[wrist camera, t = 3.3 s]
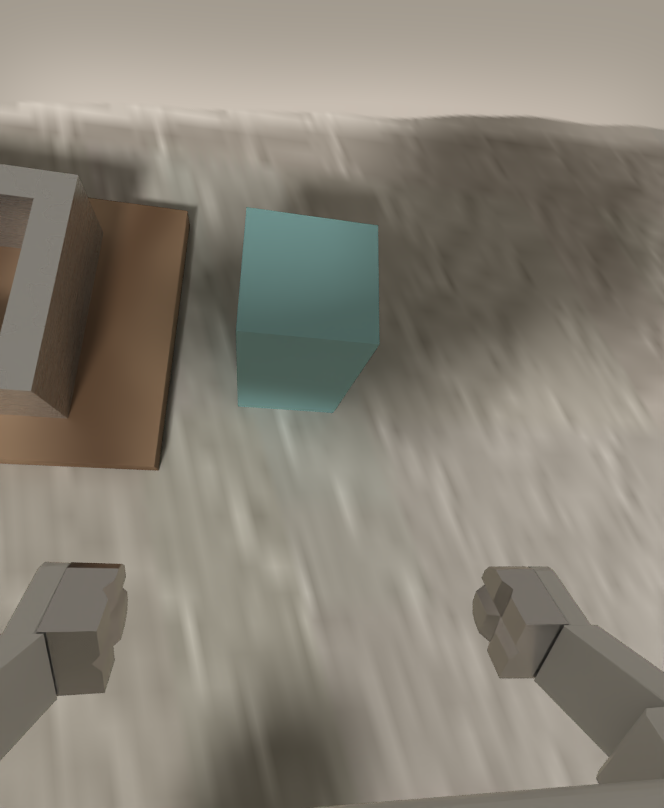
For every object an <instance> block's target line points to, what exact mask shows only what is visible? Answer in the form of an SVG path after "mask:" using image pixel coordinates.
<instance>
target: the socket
mask: <svg viewBox="0 0 664 808" xmlns="http://www.w3.org/2000/svg"><path fill="white" fill-rule="evenodd" d="M102 237H103V230H102V228H101V226H100V224H99V221H98V219H97V217H96V215H95V212H94V210H93V208H92V205H91V203H90V201H89V199H88V196H87V194H86V192H85V190H84V187H83V185H82V183H81V180H80V178H79V176H78V175H75V174H68V173H61V172H54V171H47V170H40V169H33V168H26V167H19V166H12V165H4V164H0V246H3V247H12V248H21V252H20V256H19V260H18V264H17V268H16V272H15V276H14V280H13V284H12V288H11V292H10V296H9V300H8V304H7V308H6V312H5V316H4V320H3V324H2V328H1V332H0V414H1V415H18V416H34V417H51V418H67V419H68V415H69V410H70V405H71V400H72V394H73V389H74V384H75V379H76V373H77V368H78V363H79V358H80V352H81V347H82V342H83V337H84V331H85V326H86V321H87V316H88V310H89V305H90V300H91V295H92V289H93V284H94V279H95V274H96V268H97V263H98V258H99V253H100V248H101V242H102Z"/></svg>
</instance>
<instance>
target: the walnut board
mask: <svg viewBox="0 0 664 808" xmlns="http://www.w3.org/2000/svg"><path fill="white" fill-rule="evenodd" d="M88 199H89V201H90V203H91V205H92V208H93V210H94V212H95V215H96V217H97V219H98V221H99V224H100V226H101V228H102V230H103V237H102V242H101V248H100V253H99V258H98V263H97V268H96V274H95V279H94V284H93V289H92V295H91V300H90V305H89V310H88V316H87V321H86V326H85V331H84V337H83V342H82V347H81V352H80V358H79V363H78V368H77V373H76V379H75V384H74V389H73V394H72V400H71V405H70V410H69V415H68V419H67V418H51V417H34V416H18V415H1V414H0V463H3V464H25V465H48V466H70V467H93V468H115V469H137V470H159V462H160V454H161V447H162V439H163V431H164V423H165V415H166V407H167V400H168V392H169V384H170V376H171V368H172V360H173V352H174V345H175V337H176V329H177V321H178V313H179V305H180V298H181V290H182V282H183V274H184V266H185V258H186V250H187V243H188V235H189V227H190V224H189V218H188V211H183V210H176V209H169V208H161V207H154V206H146V205H139V204H131V203H124V202H117V201H109V200H102V199H94V198H88ZM20 252H21V248H12V247H3V246H0V332H1V328H2V324H3V320H4V316H5V312H6V308H7V304H8V300H9V296H10V292H11V288H12V284H13V280H14V276H15V272H16V268H17V264H18V260H19V256H20Z"/></svg>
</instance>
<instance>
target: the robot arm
mask: <svg viewBox="0 0 664 808" xmlns="http://www.w3.org/2000/svg"><path fill="white" fill-rule="evenodd" d="M125 578H126V572H125V565H123V564H105V563H74V562H72V563H62V562H44V563H43V564H42V565H41V566H40V567H39V568H38V569H37V571H36V573H35V575H34V577H33V579H32V580H31V582H30V584H29V586H28V588H27V590H26V591H25V593H24V595H23V597H22V599H21V600H20V602H19V604H18V606H17V608H16V610H15V611H14V613H13V615H12V617H11V619H10V620H9V622H8V624H7V626H6V628H5V630H4V631H3V633H2V634H0V760H1V759H2V758H3V757H4V756H5V755H6V754H7V753H8V752H9V751H10V750H11V748H12V747H13V746H14V745H15V744H16V743H17V742H18V741H19V740H20V739H21V738H22V736H23V735H24V734H25V733H26V732H27V731H28V730H29V729H30V728H31V727H32V726H33V725H34V723H35V722H36V721H37V720H38V719H39V718H40V717H41V716H42V715H43V714H44V713H45V711H46V710H47V709H48V708H49V707H50V706H51V705H52V704H53V703H54V702H55V701H56V700H57V696H65V695H80V694H96V693H105V690H106V687H107V684H108V681H109V677H110V674H111V671H112V667H113V664H114V661H115V658H114V647H113V646H114V645H115V644H116V643H117V642H118V641H120V640H121V637H122V634H123V630H124V626H125V621H126V615H127V606H128V596H127V591H126V590H125V589H124V588H123V584H124V581H125ZM482 580H483V582H484V584H485V585H484V586H482V587H481V588H480V589H478V590H477V591H476V593H475V596H474V599H473V617H474V621H475V624H476V626H477V629H478V631H479V633H480V634H481V635H482V636H483V637H485V638H486V639H487V640H488V641H489V645H488V649H487V652H488V654H489V656H490V658H491V661H492V663H493V665H494V667H495V670H496V672H497V674H498V676H499V678H535V679H534V681H535V682H536V683H537V684H538V685H539V686H540V687H541V688H542V689H543V690H544V691H545V692H546V693H547V694H548V695H549V696H550V697H551V698H552V699H553V700H554V701H555V702H556V703H557V704H558V705H559V706H560V707H561V708H562V709H563V711H564V712H565V713H566V714H567V715H568V716H569V717H570V718H571V719H572V720H573V721H574V722H575V723H576V724H577V725H578V726H579V727H580V728H581V729H582V730H583V731H584V732H585V733H586V734H587V735H588V736H589V737H590V738H591V739H592V740H593V741H594V742H595V743H596V744H597V745H598V746H599V747H600V748H601V749H602V750H603V751H604V752H605V753H606V754H607V756H608V757H609V758H608V759H607V761H606V762H605V763H604V765H603V766H602V767H601V768H600V770H599V771H598V774H597V777H596V779H597V781H598V783H599V784H594V785H581V786H569V787H557V788H545V789H532V790H520V791H508V792H496V793H483V794H471V795H459V796H447V797H434V798H422V799H410V800H398V801H385V802H373V803H361V804H349V805H337V806H325V807H312V808H664V672H663V671H662V670H660V669H659V668H657V667H656V666H654V665H653V664H652V663H650V662H649V661H647V660H646V659H645V658H643V657H642V656H640V655H639V654H637V653H636V652H635V651H633V650H632V649H630V648H629V647H627V646H626V645H625V644H623V643H622V642H620V641H619V640H618V639H616V638H615V637H613V636H612V635H610V634H609V633H608V632H606V631H605V630H603V629H602V628H601V627H599V626H598V625H591V624H590V623H589V621H588V620H587V618H586V617H585V615H584V614H583V612H582V611H581V610H580V608H579V607H578V605H577V604H576V602H575V601H574V599H573V598H572V597H571V595H570V594H569V592H568V591H567V589H566V588H565V586H564V585H563V583H562V582H561V581H560V579H559V578H558V576H557V575H556V573H555V572H554V571H553V570H552V569H551V568H549V567H525V566H504V567H488V568H487V569H486V570H485V571H484V573H483V576H482Z"/></svg>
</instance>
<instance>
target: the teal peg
mask: <svg viewBox="0 0 664 808" xmlns="http://www.w3.org/2000/svg"><path fill="white" fill-rule="evenodd" d="M378 346H379V265H378V225H371V224H364V223H357V222H350V221H342V220H335V219H328V218H321V217H313V216H306V215H299V214H292V213H285V212H277V211H270V210H263V209H256V208H249V207H247V209H246V220H245V232H244V243H243V255H242V266H241V278H240V290H239V301H238V313H237V324H236V351H237V388H238V406H242V407H256V408H271V409H286V410H300V411H315V412H329V413H333V412H334V411H335V409H336V408H337V406H338V405H339V403H340V402H341V400H342V399H343V397H344V396H345V394H346V393H347V392H348V390H349V389H350V387H351V386H352V384H353V383H354V381H355V380H356V378H357V377H358V375H359V374H360V372H361V371H362V369H363V368H364V367H365V365H366V364H367V362H368V361H369V359H370V358H371V356H372V355H373V353H374V352H375V350H376V349H377V347H378Z"/></svg>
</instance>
